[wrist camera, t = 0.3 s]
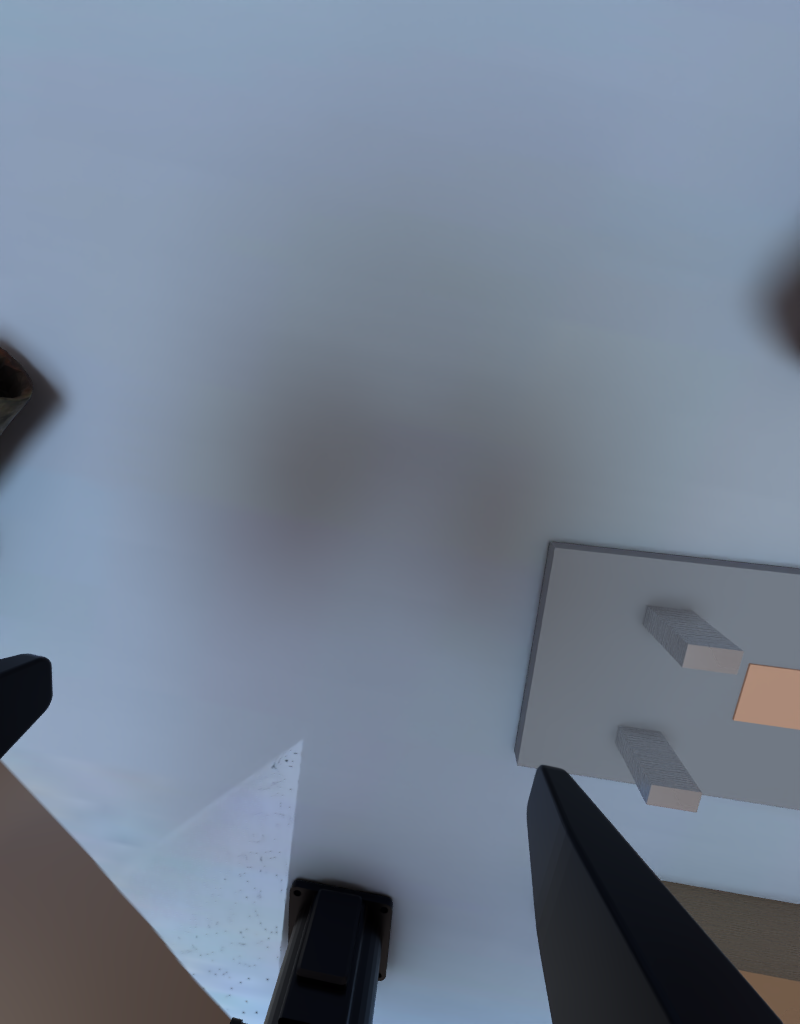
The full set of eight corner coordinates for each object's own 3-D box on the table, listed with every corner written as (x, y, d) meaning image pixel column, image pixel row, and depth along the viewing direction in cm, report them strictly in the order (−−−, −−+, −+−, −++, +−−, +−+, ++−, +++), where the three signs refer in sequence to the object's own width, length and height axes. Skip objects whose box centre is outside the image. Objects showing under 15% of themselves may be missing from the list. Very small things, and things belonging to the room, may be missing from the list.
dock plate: (962, 820, 21) (989, 842, 20) (514, 750, 23) (517, 767, 22) (1067, 598, 18) (1105, 609, 17) (550, 541, 20) (555, 548, 19)
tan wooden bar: (823, 960, 24) (898, 1067, 20) (538, 908, 26) (554, 997, 22) (846, 907, 23) (927, 1008, 19) (548, 856, 25) (567, 940, 21)
